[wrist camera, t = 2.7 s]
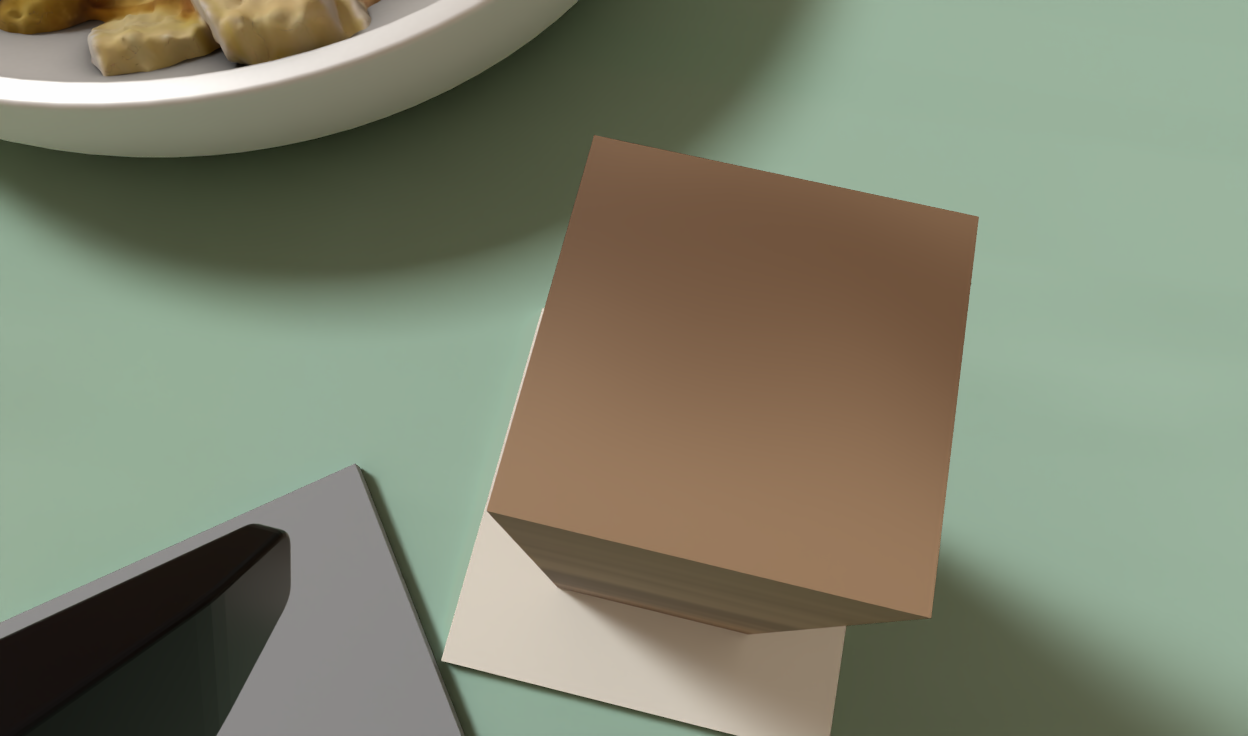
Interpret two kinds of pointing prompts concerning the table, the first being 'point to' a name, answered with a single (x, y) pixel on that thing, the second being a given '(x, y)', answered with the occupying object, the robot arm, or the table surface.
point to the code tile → (637, 648)
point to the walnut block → (741, 396)
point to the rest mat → (323, 625)
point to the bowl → (238, 67)
